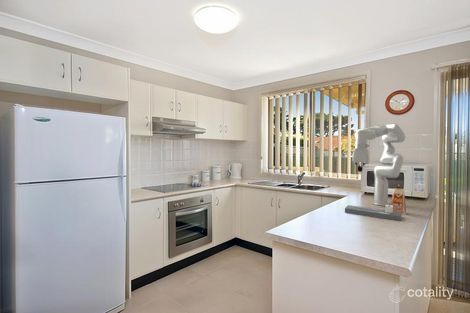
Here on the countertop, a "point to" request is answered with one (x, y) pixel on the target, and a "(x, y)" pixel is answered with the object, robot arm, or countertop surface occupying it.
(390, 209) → the fader
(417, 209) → the countertop surface
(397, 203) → the milk carton
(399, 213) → the bar
